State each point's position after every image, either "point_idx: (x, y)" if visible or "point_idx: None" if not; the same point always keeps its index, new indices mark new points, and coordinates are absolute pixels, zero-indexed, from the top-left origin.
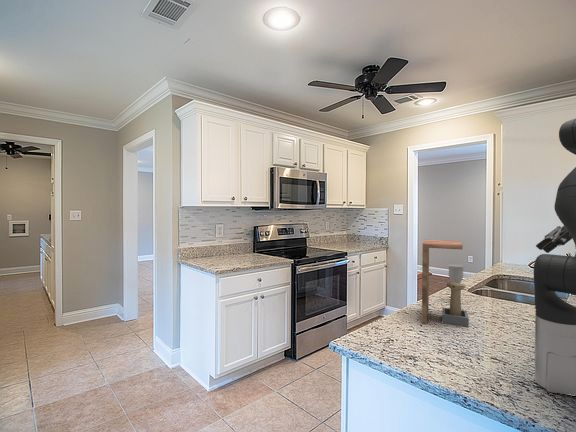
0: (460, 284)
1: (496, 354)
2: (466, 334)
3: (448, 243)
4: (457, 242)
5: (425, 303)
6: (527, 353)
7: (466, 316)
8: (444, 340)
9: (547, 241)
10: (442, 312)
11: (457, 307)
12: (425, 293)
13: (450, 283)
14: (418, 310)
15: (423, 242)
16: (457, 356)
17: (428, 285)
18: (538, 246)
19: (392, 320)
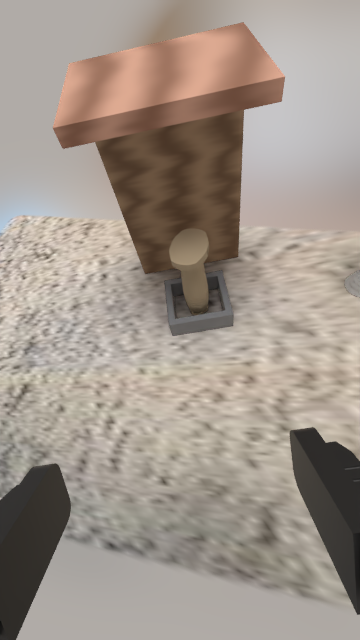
0: (191, 255)
1: (44, 392)
2: (125, 338)
3: (108, 91)
4: (177, 92)
5: (133, 241)
6: (70, 446)
7: (179, 320)
8: (76, 313)
9: (355, 576)
10: (180, 278)
11: (184, 292)
12: (126, 222)
13: (188, 235)
14: None
15: (105, 55)
16: (15, 339)
17: (223, 206)
18: (296, 452)
19: None
